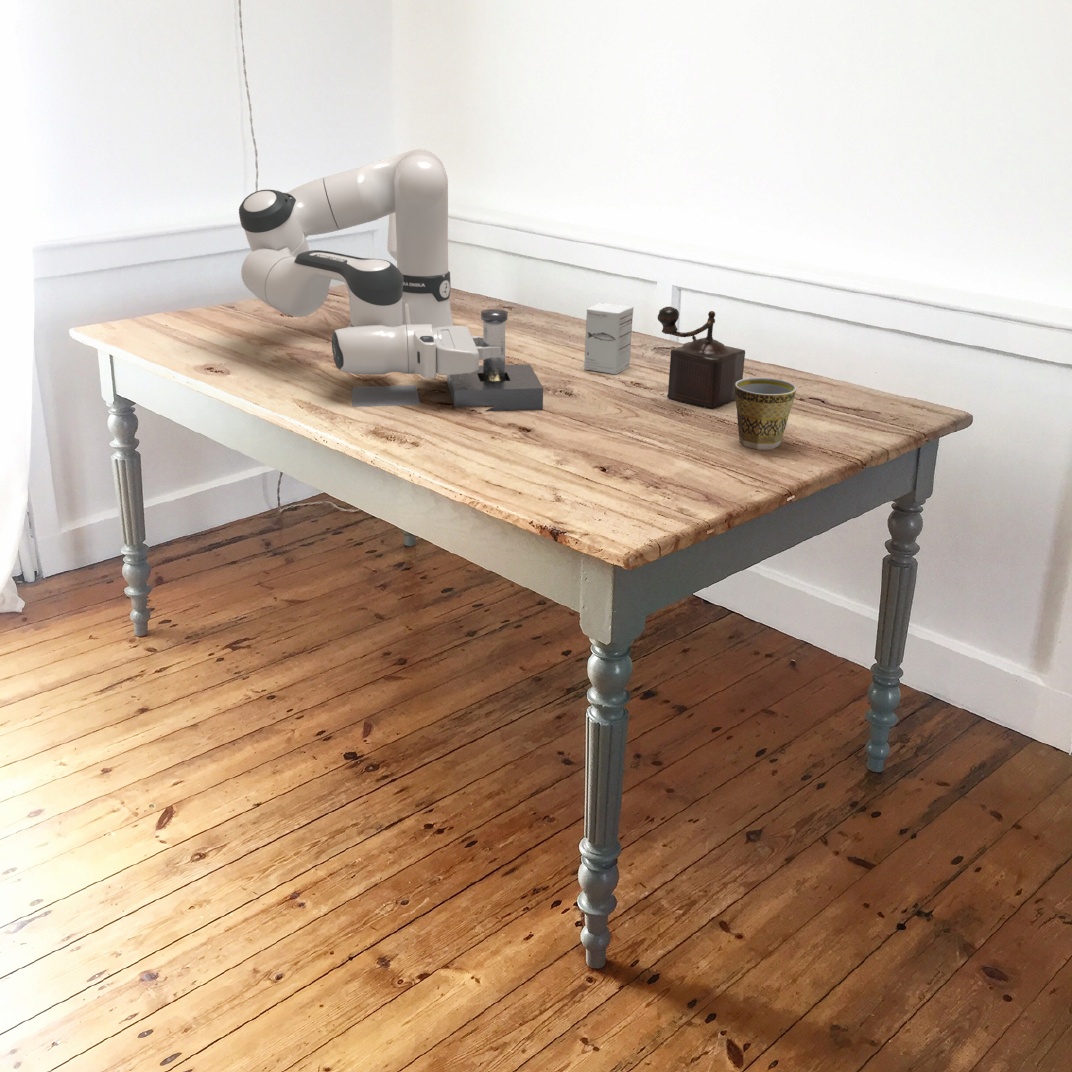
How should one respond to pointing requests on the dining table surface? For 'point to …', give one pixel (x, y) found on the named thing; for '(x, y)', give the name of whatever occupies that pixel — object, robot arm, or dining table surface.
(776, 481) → the dining table surface
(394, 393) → the rest pad
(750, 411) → the ceramic cup
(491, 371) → the steel rivet
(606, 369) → the supplement box
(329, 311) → the dining table surface
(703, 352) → the manual coffee grinder
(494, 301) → the dining table surface
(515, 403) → the block
